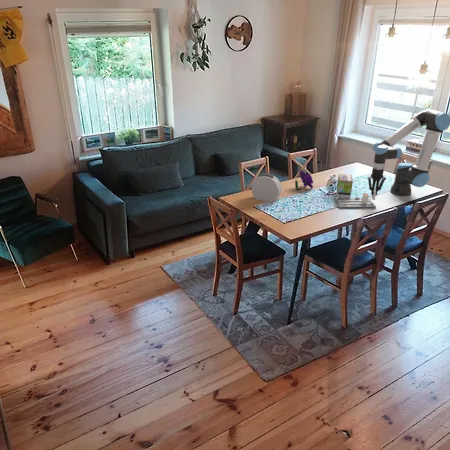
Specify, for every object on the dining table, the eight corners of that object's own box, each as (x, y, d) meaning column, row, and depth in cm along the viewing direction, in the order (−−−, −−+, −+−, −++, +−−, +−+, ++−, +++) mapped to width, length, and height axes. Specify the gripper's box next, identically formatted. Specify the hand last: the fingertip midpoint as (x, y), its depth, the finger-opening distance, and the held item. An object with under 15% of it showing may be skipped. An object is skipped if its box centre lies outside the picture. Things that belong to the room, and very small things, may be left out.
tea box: (350, 199, 317) (353, 181, 310) (336, 198, 319) (339, 180, 312) (349, 192, 330) (351, 174, 324) (336, 191, 332) (338, 173, 325)
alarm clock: (281, 199, 318) (282, 174, 309) (277, 203, 312) (279, 177, 303) (254, 195, 326) (255, 170, 317) (251, 198, 320) (251, 173, 311)
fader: (366, 201, 309) (367, 192, 306) (367, 203, 306) (368, 194, 303) (361, 201, 309) (363, 192, 306) (363, 203, 306) (364, 194, 303)
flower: (305, 199, 332) (317, 188, 335) (300, 185, 322) (312, 174, 326) (293, 193, 343) (304, 183, 346) (287, 179, 333) (299, 169, 336)
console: (369, 200, 315) (370, 196, 313) (375, 208, 301) (376, 204, 300) (334, 200, 315) (335, 196, 314) (339, 208, 301) (339, 204, 300)
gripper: (385, 166, 299) (380, 197, 309) (367, 166, 299) (362, 197, 309) (389, 169, 292) (383, 201, 303) (370, 169, 292) (365, 201, 303)
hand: (373, 199), depth 306 cm, fingers closed
